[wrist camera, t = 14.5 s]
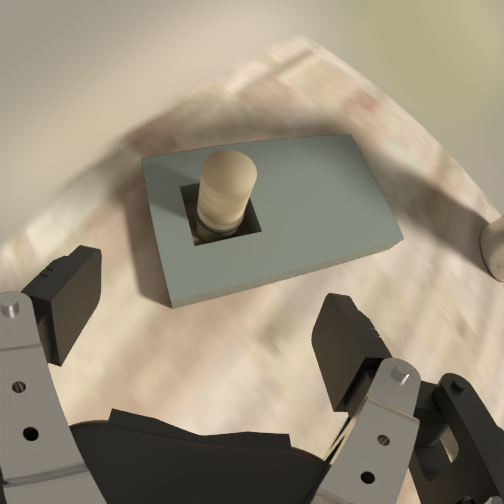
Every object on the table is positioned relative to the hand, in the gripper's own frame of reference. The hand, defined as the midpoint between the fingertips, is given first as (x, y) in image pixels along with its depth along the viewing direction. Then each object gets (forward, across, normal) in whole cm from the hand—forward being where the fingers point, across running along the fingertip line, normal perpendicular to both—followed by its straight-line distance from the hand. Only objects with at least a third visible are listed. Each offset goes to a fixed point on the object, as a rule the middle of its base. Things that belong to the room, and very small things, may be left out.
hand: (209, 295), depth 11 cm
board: (+22, -6, +2) cm, 23 cm away
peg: (+20, 0, +4) cm, 21 cm away
